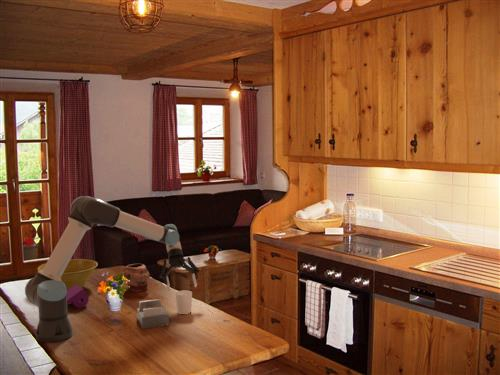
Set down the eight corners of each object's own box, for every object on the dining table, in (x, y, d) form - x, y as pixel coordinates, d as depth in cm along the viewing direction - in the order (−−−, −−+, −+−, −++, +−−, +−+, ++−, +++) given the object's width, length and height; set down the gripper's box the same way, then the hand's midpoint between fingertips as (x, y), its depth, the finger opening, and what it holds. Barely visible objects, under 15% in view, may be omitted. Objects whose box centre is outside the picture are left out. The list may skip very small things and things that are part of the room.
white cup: (192, 309, 265) (192, 290, 264) (191, 315, 257) (191, 295, 256) (177, 310, 265) (176, 290, 264) (175, 315, 257) (174, 295, 256)
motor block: (168, 325, 245) (168, 307, 244) (142, 328, 241) (141, 310, 240) (162, 315, 258) (162, 298, 257) (137, 318, 254) (136, 301, 253)
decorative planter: (115, 288, 302) (114, 264, 300) (132, 283, 311) (131, 260, 310) (140, 294, 290) (139, 269, 288) (156, 289, 300) (155, 264, 298)
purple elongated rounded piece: (60, 324, 264) (91, 301, 274) (52, 311, 261) (83, 288, 271) (53, 319, 271) (83, 297, 281) (45, 306, 268) (75, 284, 278)
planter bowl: (105, 280, 318) (104, 258, 317) (88, 297, 286) (87, 273, 285) (52, 280, 319) (51, 258, 318) (28, 297, 287) (27, 273, 286)
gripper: (196, 252, 286) (205, 288, 273) (149, 257, 277) (156, 294, 264) (199, 245, 280) (208, 280, 268) (151, 249, 271) (158, 286, 259)
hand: (182, 287), depth 266 cm, fingers open, 13 cm apart
